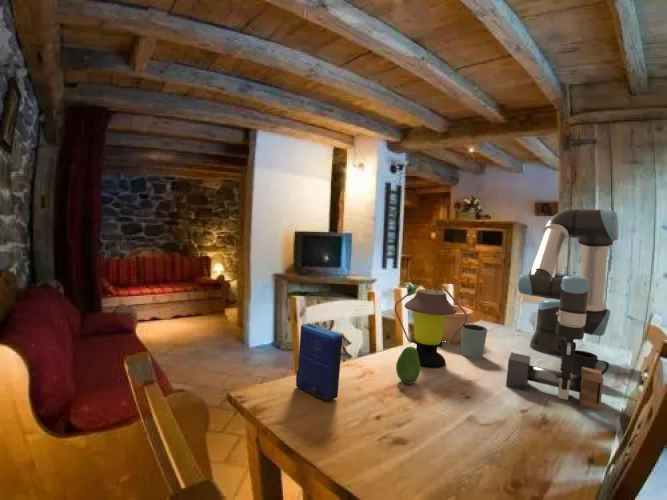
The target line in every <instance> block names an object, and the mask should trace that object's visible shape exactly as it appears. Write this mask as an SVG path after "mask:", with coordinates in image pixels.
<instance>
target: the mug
mask: <svg viewBox="0 0 667 500" xmlns="http://www.w3.org/2000/svg"><path fill="white" fill-rule="evenodd" d="M598 358H599V357H598V355H596V354H595V353H592V352H590V351H585V350H577V349H575V352H574V358H573V359H572V368H571V370H572V373H571V374H572V375H577V376H581V372H582V367H586V368H591V369H595V370H597V366H598V365H597V364H598V363H604V365H605V367H604V369H603V371H601V374H602V376H603V375H605V373H606V372H607V371H608V370H609V368H610V362H608V361H606V360H602V359H598Z"/></svg>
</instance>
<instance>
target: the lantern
mask: <svg viewBox="0 0 667 500" xmlns="http://www.w3.org/2000/svg"><path fill="white" fill-rule="evenodd" d="M420 286H423V287H424V288H425V289H424V288H423V289H418V288H419V287H420ZM440 288H442V289H443V290H444V291H445V292H444V291H440V290H439V289H440ZM417 289H418V290H417ZM415 290H416V292H415ZM413 292H415V293H416V294H415V296H413V298H411V299H409V300H408V301H407V302H406V303H404V308H405V309H407V310H408V311H412V313H413V314H412V315H413V329H414V330H413V334H414V337H412V338H411V339H410V338H409V336H408V334H407V332H406V329H405V326H404V325H403V322H402V320H401V318H400V316H399V313H398V311H397V306H398V305H399V303H401V302H402V301H403V300H404V299H405V298H406V297H407V298H408V296H409V295H410V294H412V293H413ZM447 295H448V296H449V297H450V298H451V300H452V301H454V303H455V305H457V306H459V307H460V309H461V310H462V311H463V312H464V313H465V316H466V320H465V322H464V323H463V324H462V326H461V327H460V328H459V330H458V331H457V332H456V334H455V335H454V336H453V338H452V339H451V340H450V342H449V343H446V345H445V346H443V342H442V341H441V338H442V333H443V329H444V324H445V320H446V315H452V314H455V313H456V309H455V308H454V307H453V306H452V305H453V304H452V303H450V302H449V300H448V298H447ZM462 307H463V306H462ZM462 307H461V305H460V304H459V302H457V300H456V299H455V298H454V297H453V295H452V294H451V293H450V292H449V291H448V290H447V288H446V287H445V286H444V285H441V286H439V287H438V288H436V290H434V289H427V286H426V285H425V284H424V283H421V282H420V283H419V284H418V285H416V287H414V288H413V289H412V290H411V291H409V292H408V293H407V294H406V295H404V296H403V297H402V298H400V299H399V300H398V301H396V303H395V305H394V307H393V308H394V312H395V316H397V319H398V322H399V324H400V326H401V329H402V330H403V333H404V335H405V338H406V340H407V341H408V342H410V343H413V344H415V345H416V347H415V348H416V350H417V352H418V356H419V361H420V368H424V367H425V369H440V367H441V368H443V367H445V366H446V359H445V358H444V356H443V355H442V354H441V353H439V352H438V348H442V349H446V348H448V347H449V346H450V345H451V344H452V343H451V342H452V340H453V339H454V338H455V336H456V335H457V334H458V333H459V331H460V330H461V329H462V327H463V326H464V325H465V323H466V322H467V314H466V312H465V311H464V310H463V308H462ZM444 365H445V366H444Z"/></svg>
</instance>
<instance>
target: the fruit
mask: <svg viewBox="0 0 667 500" xmlns="http://www.w3.org/2000/svg"><path fill="white" fill-rule="evenodd" d="M395 369H396V374H397V377H398V378H399V380H400V381H401V382H403V383H405V384H412V383H414V382H416V381H417V379H418V378H419V376H420V373H421V367H420V361H419V356H418V352H417V350H416V347H413V346H406V347H405V348H404V349H403V350H402V351H401V353H400V355H399V357H398V359H397V361H396V367H395Z"/></svg>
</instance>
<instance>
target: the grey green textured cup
mask: <svg viewBox="0 0 667 500" xmlns="http://www.w3.org/2000/svg"><path fill="white" fill-rule="evenodd" d="M461 326H462V325H461ZM461 333H462V334H461V343H460V351H461V352H460V354H461V355H462V356H463V357H465V358H467V357H468V359H472V358H473V360H480V359H483V357H484V351H485V347H486V339H487V334H488V328H487V327H485V326H483V325H479V324H474V323H473V324H472V323H469V324H465V325H464V326H463V327H462V329H461Z"/></svg>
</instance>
